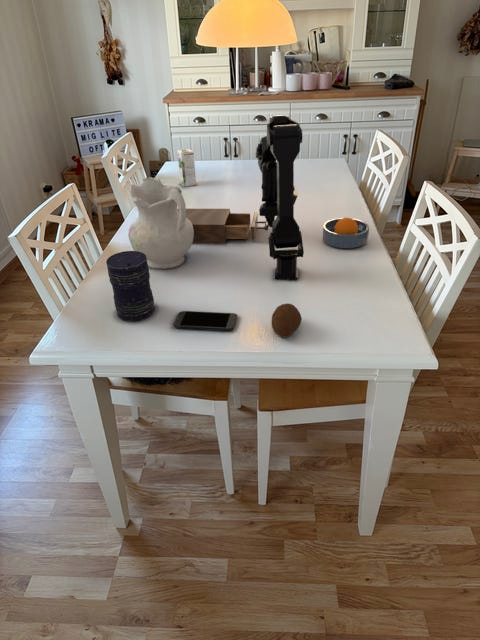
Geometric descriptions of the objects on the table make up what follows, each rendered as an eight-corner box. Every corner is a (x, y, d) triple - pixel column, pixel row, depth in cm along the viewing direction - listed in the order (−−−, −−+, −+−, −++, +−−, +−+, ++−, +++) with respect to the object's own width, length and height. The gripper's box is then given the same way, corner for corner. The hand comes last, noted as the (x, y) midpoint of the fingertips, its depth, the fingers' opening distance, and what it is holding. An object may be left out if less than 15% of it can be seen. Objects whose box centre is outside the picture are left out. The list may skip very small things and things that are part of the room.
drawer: (270, 225, 168) (270, 211, 165) (267, 240, 157) (267, 227, 154) (208, 224, 170) (207, 211, 168) (201, 240, 159) (200, 226, 156)
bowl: (369, 250, 150) (371, 235, 147) (323, 249, 151) (324, 235, 149) (365, 232, 161) (366, 218, 159) (322, 232, 163) (322, 217, 160)
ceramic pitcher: (214, 260, 151) (211, 179, 139) (176, 282, 136) (169, 194, 124) (159, 247, 160) (152, 171, 148) (118, 267, 146) (107, 184, 134)
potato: (301, 318, 119) (302, 293, 115) (301, 342, 110) (302, 317, 107) (273, 317, 120) (273, 292, 116) (270, 341, 111) (270, 316, 108)
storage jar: (114, 306, 127) (103, 255, 119) (150, 298, 130) (142, 247, 122) (120, 325, 120) (108, 272, 111) (158, 316, 122) (150, 263, 114)
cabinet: (231, 226, 170) (230, 208, 167) (225, 243, 158) (224, 224, 155) (179, 226, 172) (177, 208, 169) (170, 243, 160) (167, 224, 157)
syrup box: (180, 183, 214) (176, 150, 206) (192, 181, 216) (189, 148, 208) (184, 187, 210) (180, 152, 202) (197, 184, 212) (194, 150, 204)
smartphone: (179, 312, 123) (179, 309, 123) (237, 315, 121) (237, 312, 121) (172, 328, 117) (171, 325, 117) (233, 332, 115) (233, 329, 115)
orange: (357, 246, 153) (360, 229, 147) (333, 246, 154) (335, 229, 148) (356, 230, 157) (359, 213, 151) (333, 229, 158) (335, 212, 152)
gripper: (296, 189, 144) (294, 238, 152) (297, 171, 159) (296, 216, 168) (258, 189, 145) (259, 238, 153) (263, 171, 160) (264, 216, 169)
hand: (271, 226), depth 161 cm, fingers closed, pressing on drawer
